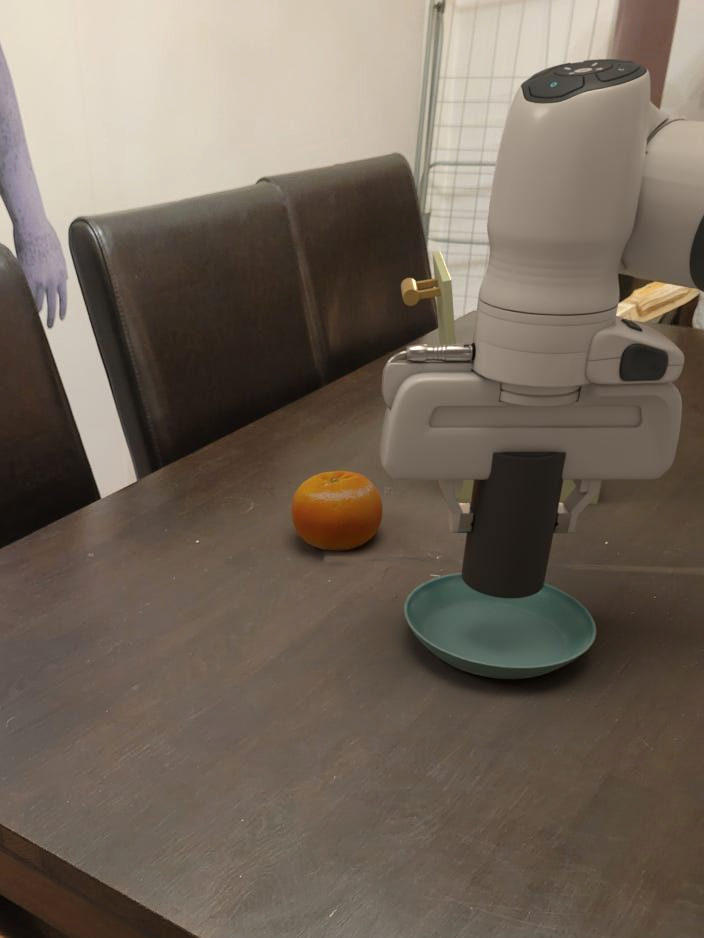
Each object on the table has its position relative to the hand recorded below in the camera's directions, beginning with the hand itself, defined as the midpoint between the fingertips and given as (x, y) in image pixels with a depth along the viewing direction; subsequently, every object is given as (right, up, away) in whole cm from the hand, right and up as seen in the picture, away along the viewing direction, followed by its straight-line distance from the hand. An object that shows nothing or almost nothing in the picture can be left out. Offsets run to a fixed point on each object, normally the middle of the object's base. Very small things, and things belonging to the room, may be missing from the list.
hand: (510, 530), depth 72 cm
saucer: (0, -9, +5) cm, 10 cm away
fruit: (-11, +1, +21) cm, 24 cm away
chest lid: (+2, +22, +25) cm, 33 cm away
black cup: (0, -4, +2) cm, 4 cm away
